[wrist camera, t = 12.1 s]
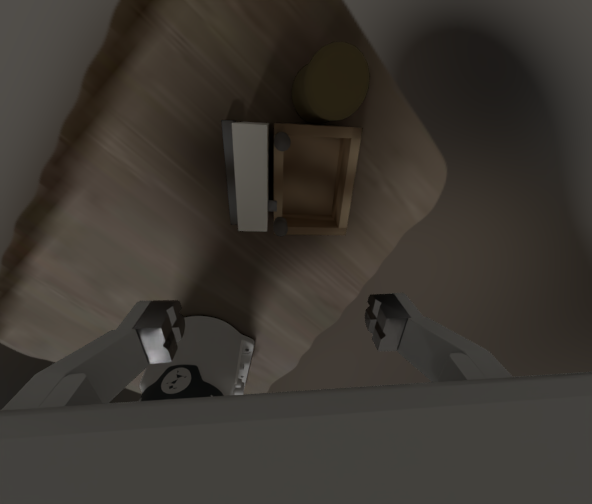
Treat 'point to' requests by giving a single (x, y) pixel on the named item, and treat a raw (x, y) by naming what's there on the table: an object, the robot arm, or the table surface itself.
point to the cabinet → (306, 177)
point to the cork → (331, 84)
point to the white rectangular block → (252, 175)
